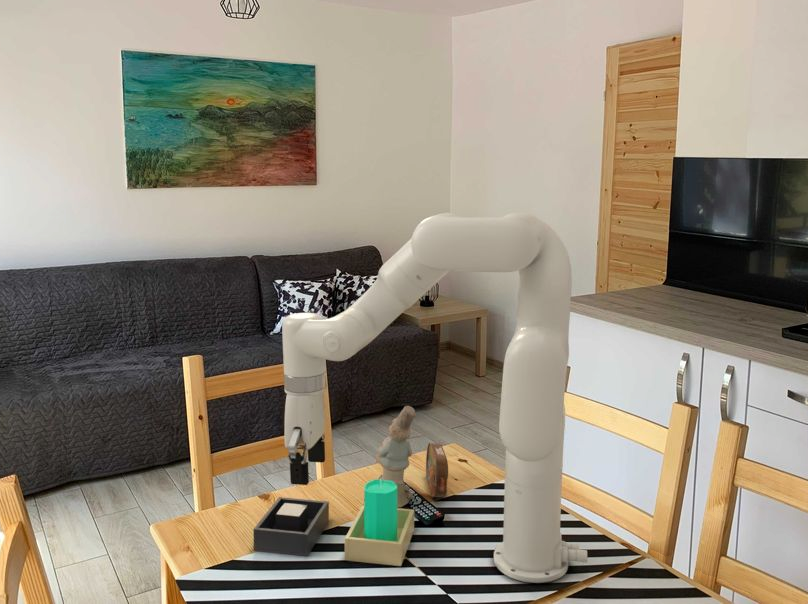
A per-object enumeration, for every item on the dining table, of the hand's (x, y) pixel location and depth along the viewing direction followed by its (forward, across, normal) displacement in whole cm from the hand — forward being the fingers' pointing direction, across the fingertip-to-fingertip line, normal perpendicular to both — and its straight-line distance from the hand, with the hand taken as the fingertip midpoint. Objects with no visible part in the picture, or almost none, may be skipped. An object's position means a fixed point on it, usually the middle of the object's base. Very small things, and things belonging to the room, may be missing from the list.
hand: (308, 472), depth 131 cm
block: (+11, +2, -3) cm, 11 cm away
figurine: (+12, -15, +12) cm, 23 cm away
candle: (+11, +2, +14) cm, 18 cm away
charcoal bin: (+11, +2, -3) cm, 12 cm away
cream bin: (+12, +2, +14) cm, 18 cm away
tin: (+12, -22, +20) cm, 32 cm away
